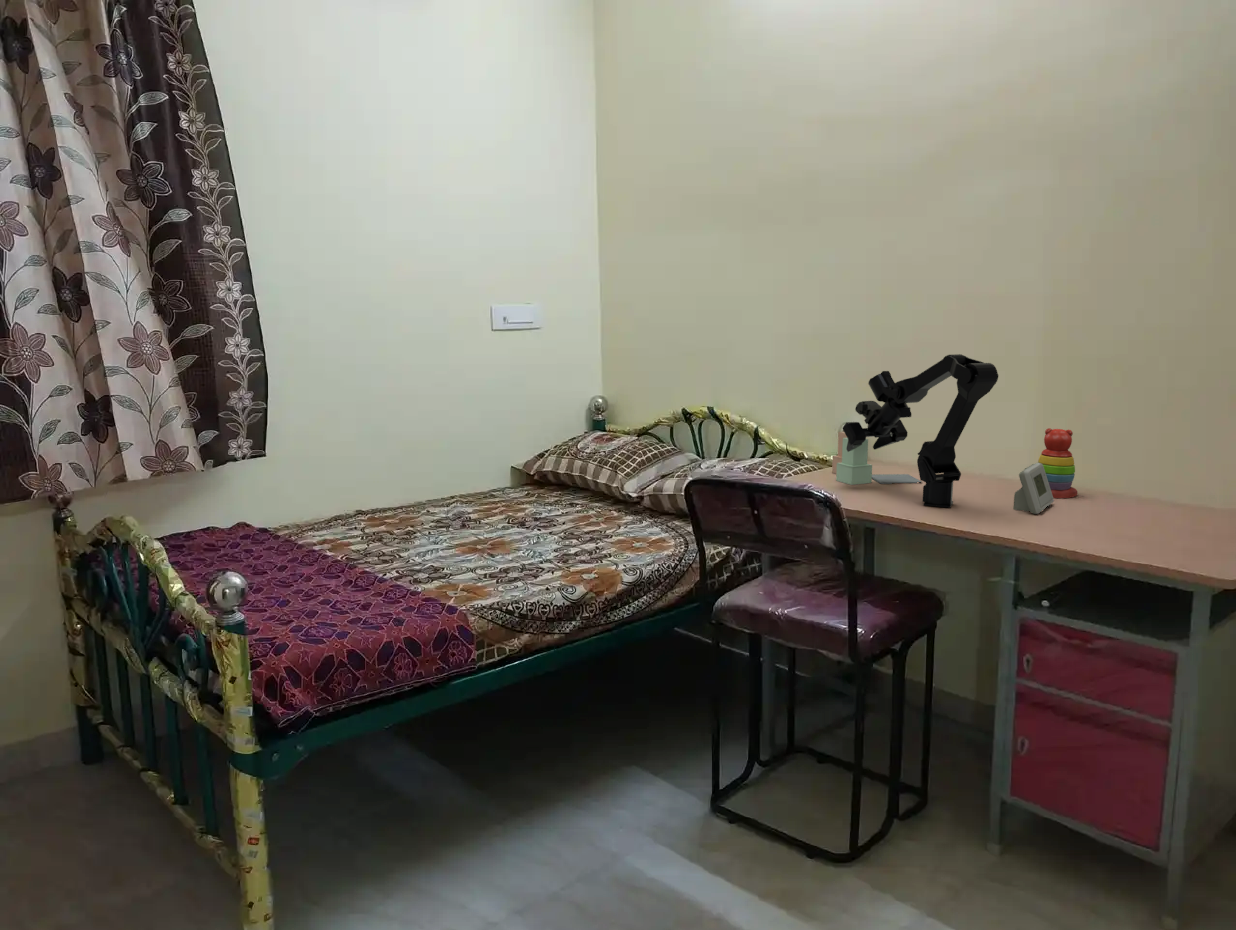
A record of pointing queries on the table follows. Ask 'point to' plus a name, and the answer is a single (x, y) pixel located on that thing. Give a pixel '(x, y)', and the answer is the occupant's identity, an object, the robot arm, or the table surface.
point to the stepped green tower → (854, 465)
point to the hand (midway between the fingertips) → (860, 449)
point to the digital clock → (1033, 490)
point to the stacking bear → (1059, 462)
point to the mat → (894, 478)
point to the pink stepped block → (839, 457)
